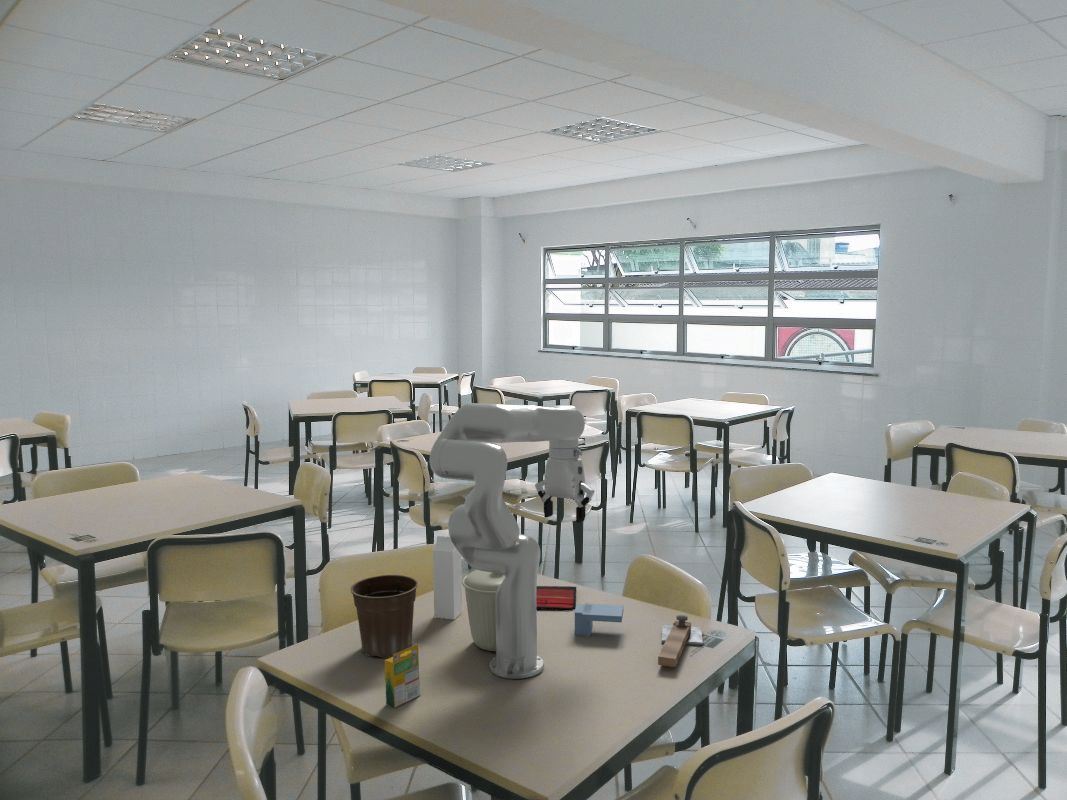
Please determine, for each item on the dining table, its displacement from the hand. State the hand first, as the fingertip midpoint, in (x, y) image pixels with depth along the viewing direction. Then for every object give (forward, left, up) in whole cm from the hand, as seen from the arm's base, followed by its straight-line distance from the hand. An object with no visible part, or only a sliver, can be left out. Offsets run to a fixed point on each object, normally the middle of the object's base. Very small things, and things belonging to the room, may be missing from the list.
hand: (564, 518), depth 205 cm
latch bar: (-11, -28, -28) cm, 41 cm away
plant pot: (-20, +42, -29) cm, 55 cm away
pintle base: (-2, -30, -29) cm, 42 cm away
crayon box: (-45, +29, -29) cm, 61 cm away
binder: (+19, +10, -30) cm, 37 cm away
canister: (-13, +15, -29) cm, 35 cm away
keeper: (-2, -9, -29) cm, 31 cm away
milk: (+4, +33, -29) cm, 44 cm away
